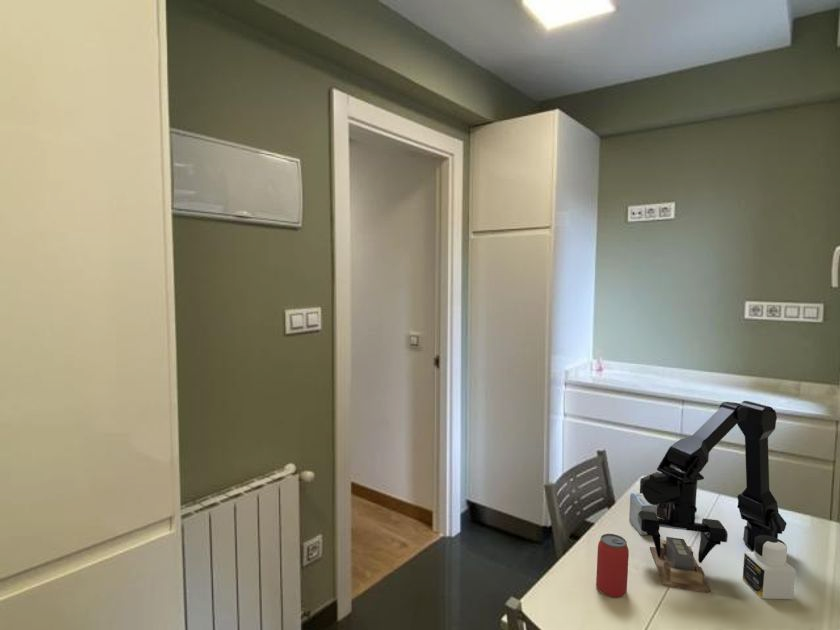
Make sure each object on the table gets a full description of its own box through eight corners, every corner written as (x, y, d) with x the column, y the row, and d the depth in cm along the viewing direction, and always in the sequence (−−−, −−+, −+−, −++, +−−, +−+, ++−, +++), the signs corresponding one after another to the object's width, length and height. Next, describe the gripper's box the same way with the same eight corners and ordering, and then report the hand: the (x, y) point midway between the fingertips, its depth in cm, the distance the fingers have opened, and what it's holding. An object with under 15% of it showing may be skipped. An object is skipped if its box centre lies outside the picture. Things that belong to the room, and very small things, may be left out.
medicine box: (656, 535, 137) (657, 505, 136) (639, 535, 137) (641, 505, 136) (643, 521, 145) (645, 493, 144) (628, 521, 145) (630, 492, 144)
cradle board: (691, 554, 128) (692, 542, 128) (711, 593, 112) (712, 579, 112) (649, 548, 130) (650, 537, 130) (663, 585, 115) (664, 572, 115)
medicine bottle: (741, 579, 118) (745, 531, 117) (772, 580, 118) (776, 532, 116) (761, 599, 111) (765, 547, 110) (794, 600, 110) (798, 548, 109)
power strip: (682, 557, 125) (683, 538, 125) (692, 579, 117) (693, 558, 116) (665, 555, 126) (666, 536, 126) (674, 576, 118) (675, 555, 117)
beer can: (623, 603, 109) (626, 551, 108) (592, 592, 112) (595, 542, 111) (629, 587, 114) (631, 537, 113) (599, 577, 118) (601, 529, 117)
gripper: (714, 488, 125) (710, 547, 127) (635, 479, 130) (632, 536, 131) (730, 508, 115) (725, 572, 116) (643, 498, 119) (640, 560, 121)
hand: (678, 559), depth 121 cm, fingers open, 9 cm apart
